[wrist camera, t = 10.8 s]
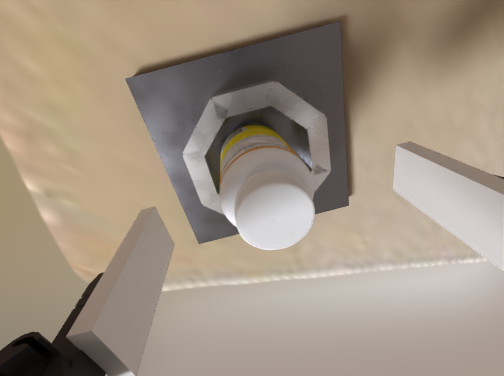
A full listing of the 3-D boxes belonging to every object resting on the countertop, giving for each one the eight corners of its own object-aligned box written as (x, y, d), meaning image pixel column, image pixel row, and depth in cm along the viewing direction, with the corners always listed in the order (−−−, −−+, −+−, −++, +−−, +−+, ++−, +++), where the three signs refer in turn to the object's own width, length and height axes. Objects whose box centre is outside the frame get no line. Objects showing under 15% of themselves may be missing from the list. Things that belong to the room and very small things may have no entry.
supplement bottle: (277, 184, 22) (315, 264, 13) (218, 179, 21) (214, 262, 12) (289, 125, 20) (347, 172, 11) (223, 117, 19) (223, 160, 10)
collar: (333, 24, 18) (358, 13, 14) (343, 199, 25) (361, 219, 22) (131, 78, 18) (109, 80, 15) (200, 236, 25) (196, 261, 22)
